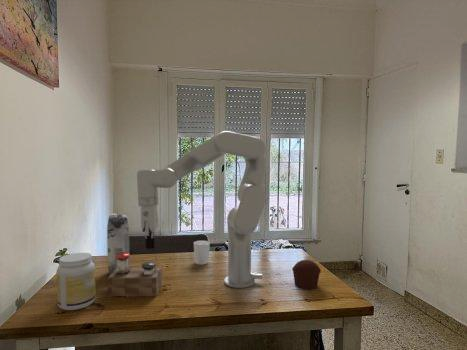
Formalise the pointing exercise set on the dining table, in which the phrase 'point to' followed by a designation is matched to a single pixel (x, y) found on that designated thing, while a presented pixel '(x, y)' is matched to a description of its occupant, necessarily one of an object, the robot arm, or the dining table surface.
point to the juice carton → (117, 239)
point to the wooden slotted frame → (134, 283)
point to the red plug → (122, 263)
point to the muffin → (306, 274)
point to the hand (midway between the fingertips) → (150, 247)
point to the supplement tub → (75, 281)
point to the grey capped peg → (148, 267)
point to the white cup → (201, 252)
